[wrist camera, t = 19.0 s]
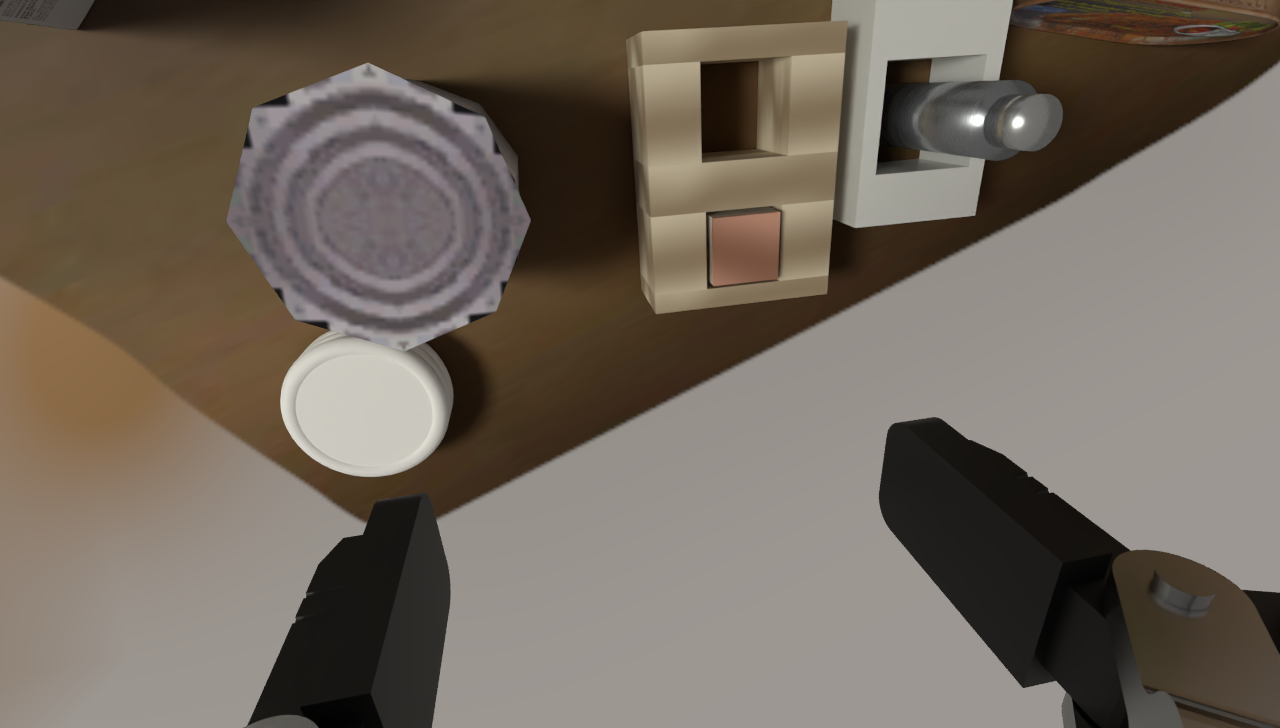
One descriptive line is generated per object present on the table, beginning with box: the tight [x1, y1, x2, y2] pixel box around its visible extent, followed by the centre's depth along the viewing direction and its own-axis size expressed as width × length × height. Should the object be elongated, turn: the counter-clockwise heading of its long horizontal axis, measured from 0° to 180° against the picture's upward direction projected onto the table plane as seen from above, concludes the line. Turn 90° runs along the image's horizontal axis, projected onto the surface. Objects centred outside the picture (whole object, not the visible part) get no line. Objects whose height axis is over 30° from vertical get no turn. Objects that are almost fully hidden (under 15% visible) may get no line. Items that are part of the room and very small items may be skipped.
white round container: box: [280, 330, 453, 477], centre depth 39 cm, size 10×10×4 cm
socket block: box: [626, 20, 848, 314], centre depth 36 cm, size 15×11×5 cm
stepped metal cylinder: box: [879, 80, 1063, 161], centre depth 33 cm, size 4×4×13 cm
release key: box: [706, 206, 780, 286], centre depth 37 cm, size 4×4×4 cm
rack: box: [831, 0, 1013, 228], centre depth 35 cm, size 15×8×5 cm, turn 4°
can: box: [226, 63, 531, 351], centre depth 30 cm, size 11×11×12 cm
